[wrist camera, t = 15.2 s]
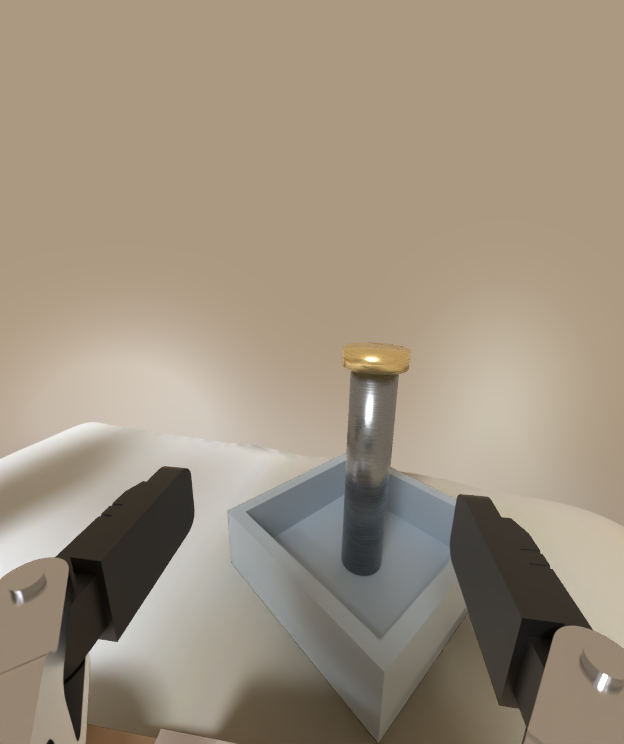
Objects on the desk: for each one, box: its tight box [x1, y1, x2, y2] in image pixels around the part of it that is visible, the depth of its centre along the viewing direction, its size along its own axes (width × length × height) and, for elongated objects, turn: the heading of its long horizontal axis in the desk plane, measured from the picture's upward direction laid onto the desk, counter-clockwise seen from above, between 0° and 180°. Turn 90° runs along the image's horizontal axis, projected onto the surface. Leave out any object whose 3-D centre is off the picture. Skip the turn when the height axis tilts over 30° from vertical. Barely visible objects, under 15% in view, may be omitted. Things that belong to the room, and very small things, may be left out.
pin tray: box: [228, 453, 468, 743], centre depth 26 cm, size 15×15×5 cm
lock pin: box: [341, 343, 410, 576], centre depth 24 cm, size 4×4×17 cm
